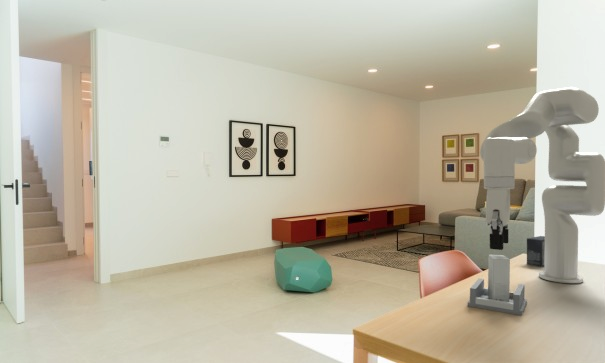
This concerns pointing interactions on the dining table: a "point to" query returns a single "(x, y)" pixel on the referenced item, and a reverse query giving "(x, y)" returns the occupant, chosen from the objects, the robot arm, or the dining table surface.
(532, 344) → the dining table surface
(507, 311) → the rest
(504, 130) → the robot arm
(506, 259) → the skincare box
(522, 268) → the dining table surface
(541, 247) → the small box
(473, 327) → the dining table surface
